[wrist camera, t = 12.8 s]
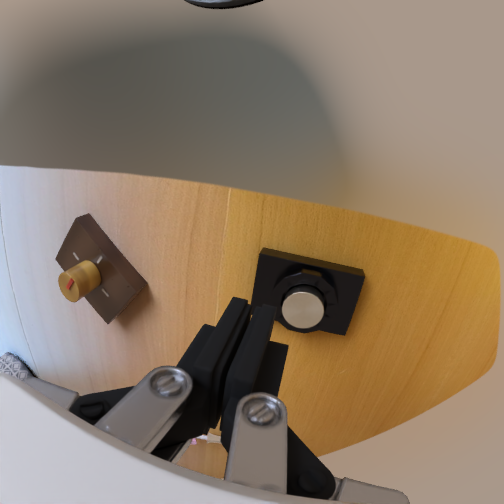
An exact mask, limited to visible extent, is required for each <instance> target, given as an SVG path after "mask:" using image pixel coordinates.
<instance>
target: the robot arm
mask: <svg viewBox="0 0 504 504" xmlns="http://www.w3.org/2000/svg"><path fill="white" fill-rule="evenodd" d="M276 311H277V307H274V306H270V305H266V304H263V305H262V307H258V306H256V308H255V311H254V313H253V315H252V318H251V312H252V305H249V304H248V300H245V299H241V298H237V297H233V298H232V300H231V301H230V303H229V305H228V306H227V308H226V310H225V312H224V313H223V315H222V317H221V318H220V320H219V322H218V324H217V325H216V327H215V326H211V325H207V324H204V325H203V326H202V328H201V329H200V331H199V332H198V334H197V335H196V337H195V338H194V340H193V341H192V343H191V344H190V346H189V347H188V349H187V351H186V352H185V354H184V355H183V357H182V358H181V360H180V361H179V363H178V364H177V366H176V367H175V366H161V367H158V368H155V369H153V370H152V371H150V372H149V373H148V374H147V375H146V376H145V377H144V378H143V379H142V380H141V381H140V382H139V383H138V384H137V385H136V386H131V387H126V388H121V389H116V390H110V391H104V392H98V393H92V394H87V395H84V396H79V394H78V392H75V391H72V390H69V389H66V388H63V387H60V386H58V385H55V384H52V383H49V382H47V381H44V380H41V379H39V378H35V377H28V378H25V379H23V380H19V379H17V378H15V377H13V376H11V375H8V374H6V373H2V372H0V504H410V502H409V500H408V498H407V496H406V495H404V493H402V492H400V491H398V490H394V489H389V488H384V487H380V486H376V485H372V484H368V483H364V482H360V481H356V480H353V479H349V478H346V477H344V478H343V479H340V478H336V477H334V476H333V475H332V473H331V472H330V471H329V470H328V469H327V468H326V467H325V465H324V464H323V463H322V462H321V461H320V460H319V459H318V458H317V457H316V456H315V455H314V454H313V453H312V452H311V451H310V450H309V448H308V447H307V446H306V445H305V444H304V443H303V442H302V441H301V440H300V439H299V437H298V436H297V435H296V434H295V433H294V432H293V431H292V430H291V429H290V427H289V426H288V425H287V409H286V406H285V405H284V403H283V402H282V401H281V400H280V399H279V398H277V396H278V392H279V387H280V383H281V379H282V374H283V370H284V365H285V361H286V356H287V351H288V346H289V345H286V344H281V343H277V342H273V341H270V337H271V333H272V329H273V324H274V320H275V315H276ZM250 318H251V320H250ZM220 417H221V422H220V431H222V432H221V439H220V442H221V443H222V445H223V446H224V448H225V449H226V451H227V452H228V456H227V462H226V469H225V475H224V480H221V479H218V478H215V477H211V476H208V475H205V474H202V473H199V472H196V471H193V470H190V469H187V468H184V467H182V466H179V465H176V463H177V462H178V461H179V459H180V458H181V456H182V455H183V454H184V452H185V451H186V450H187V448H188V447H189V446H190V444H191V442H192V440H193V438H196V437H199V436H202V434H205V435H207V434H208V431H209V429H210V428H213V429H215V428H216V427H217V424H218V422H219V420H220Z"/></svg>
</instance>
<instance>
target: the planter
mask: <svg viewBox="0 0 504 504" xmlns="http://www.w3.org/2000/svg"><path fill="white" fill-rule="evenodd" d="M0 372H2V373H6V374H8V375H11V376H13V377H15V378H17V379H19V380H23V379H25V378H28V377H33V375H32V374H31V372H30V371H29V369H28V368H27V367H26V366H25V365H24V364H23V363H22V362H21V361H20V360H19V359H18V358H17V357H16V356H15V355H13V354H12V353H9V352H7V353H5V354H4V355H3V356H1V357H0Z"/></svg>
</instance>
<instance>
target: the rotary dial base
mask: <svg viewBox="0 0 504 504" xmlns="http://www.w3.org/2000/svg"><path fill="white" fill-rule="evenodd" d="M86 260H87V261H91V262H92V263H93V264H95V266H96V267H97V268H98V270H99V272H100V276H101V283H100V285H99V286H98V287H97V288H96V289H94V290H93V291H91V292H90V293H88V294H87V295H85V296H84V297H85V298H86V300H87V301H88V302H89V303H90V304H91V306H92V307H93V308H94V309H95V310H96V311H97V313H98V314H99V315H100V316H101V317H102V318H103V319H104V321H105V322H106V323H107V324H109V323H110V322H112V321H113V320H114V319H115V318H116V317H117V316H119V314H120V313H121V312H122V311H123V310H124V309H125V308H126V306H127V305H128V304H129V303H130V302H131V301H132V300H133V299H134V297H135V296H136V295H137V294H138V293H139V292H140V291H141V290H142V289H143V287H144V286H145V285H146V284H147V282H146V281H145V280H144V279H143V278H142V276H141V275H140V274H139V273H138V272H137V271H136V270H135V269H134V267H133V266H132V265H131V264H130V263H129V262H128V260H127V259H126V258H125V257H124V256H123V255H122V253H121V252H120V251H119V250H118V249H117V247H116V246H115V245H114V244H113V243H112V241H111V240H110V239H109V238H108V237H107V235H106V234H105V233H104V232H103V230H102V229H101V228H100V227H99V225H98V224H97V223H96V222H95V220H94V219H93V218H92V216H91V215H90V214H89V213H88V214H86V215H83V216H80V217H77V218H76V219H75V221H74V222H73V224H72V226H71V228H70V230H69V232H68V234H67V236H66V238H65V240H64V242H63V244H62V246H61V248H60V250H59V252H58V254H57V257H56V261H57V262H58V263H59V265H60V266H61V268H62V269H63V270H64V272H65V271H67V270H68V269H70V268H72V267H74V266H76V265H77V264H79V263H81V262H83V261H86Z"/></svg>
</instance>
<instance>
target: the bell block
mask: <svg viewBox="0 0 504 504" xmlns="http://www.w3.org/2000/svg"><path fill="white" fill-rule="evenodd" d="M364 279H365V275H364V271H363V269H358V268H354V267H349V266H345V265H340V264H336V263H331V262H327V261H322V260H318V259H313V258H309V257H304V256H300V255H295V254H291V253H286V252H282V251H277V250H273V249H268V248H263V249H262V250H261V252H260V253H259V258H258V264H257V271H256V277H255V283H254V289H253V295H252V301H251V305H252V312H251V315H253V313H254V311H255V308H256V306H258V307H262V305H263V304H266V305H270V306H274V307H277V311H276V315H275V321H278V322H279V323H281V324H282V325H283V326H284V327H286V328H287V329H289V330H292V331H296V332H301V333H309V332H313V331H318V330H320V331H324V332H329V333H334V334H339V335H344V336H345V335H346V332H347V329H348V327H349V324H350V321H351V318H352V315H353V313H354V310H355V307H356V304H357V301H358V298H359V295H360V292H361V289H362V286H363V282H364ZM299 285H308V286H312V287H314V288H316V289H317V290H318V291H319V292H320V293H321V294H322V296H323V299H324V314H323V317H322V319H321V320H320V322H318V323H317V324H316V325H314V326H312V327H310V328H297V327H294V326H292V325H291V324H289V323H288V322H287V321H286V320H285V318H284V316H283V313H282V306H283V302H284V299H285V296H286V294H287V293H288V291H289V290H291V289H292V288H294V287H296V286H299Z"/></svg>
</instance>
